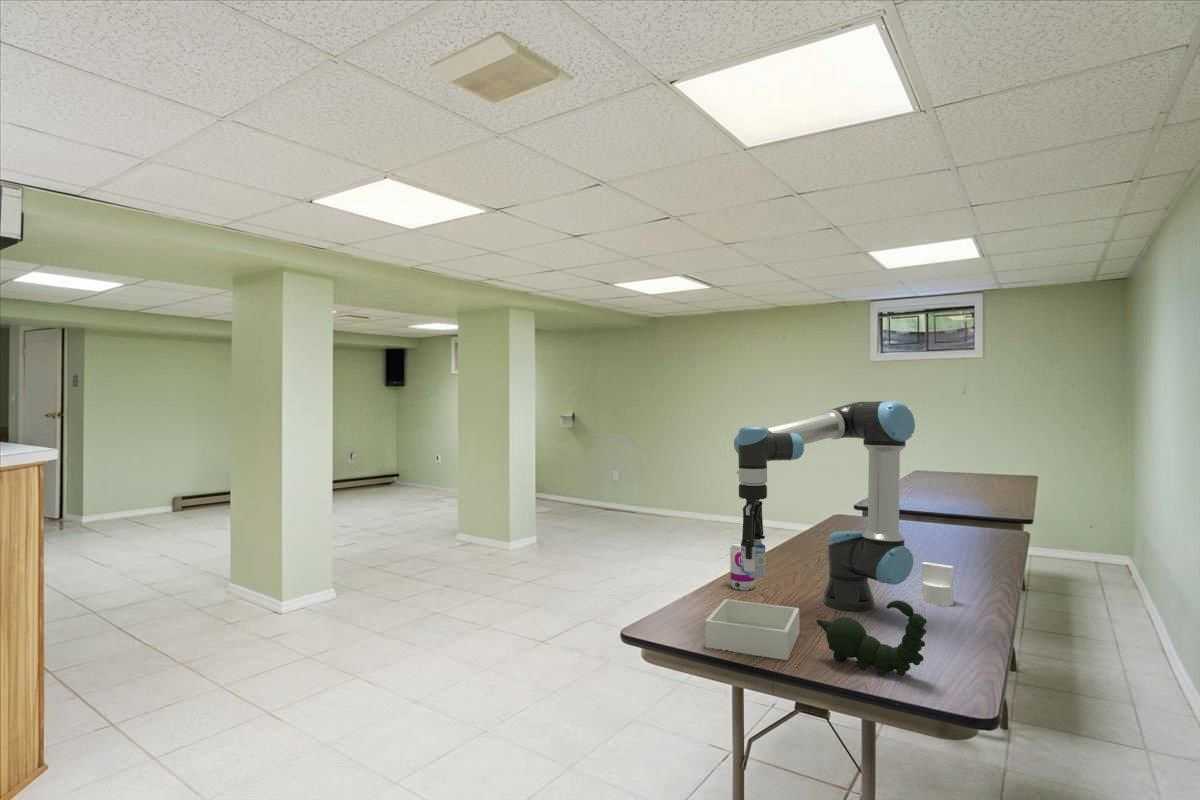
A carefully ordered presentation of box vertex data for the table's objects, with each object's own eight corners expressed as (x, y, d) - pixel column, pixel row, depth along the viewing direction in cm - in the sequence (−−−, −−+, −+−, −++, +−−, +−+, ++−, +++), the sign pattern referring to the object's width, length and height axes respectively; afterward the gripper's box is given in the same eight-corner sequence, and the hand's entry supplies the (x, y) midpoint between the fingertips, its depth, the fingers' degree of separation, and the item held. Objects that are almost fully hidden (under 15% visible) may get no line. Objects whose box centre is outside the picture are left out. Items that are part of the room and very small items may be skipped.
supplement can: (755, 591, 221) (754, 547, 221) (730, 590, 222) (730, 546, 223) (754, 585, 229) (754, 542, 229) (730, 583, 230) (730, 541, 231)
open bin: (799, 633, 180) (799, 608, 180) (787, 660, 161) (787, 632, 161) (725, 623, 189) (724, 599, 189) (705, 647, 170) (705, 620, 170)
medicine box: (740, 570, 179) (740, 539, 179) (756, 570, 179) (756, 538, 179) (749, 578, 171) (749, 545, 171) (766, 577, 171) (765, 544, 171)
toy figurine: (924, 681, 152) (820, 647, 168) (931, 602, 151) (826, 575, 167) (913, 695, 145) (806, 658, 161) (921, 612, 144) (812, 583, 160)
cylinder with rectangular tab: (957, 601, 208) (956, 564, 208) (949, 608, 202) (948, 569, 202) (927, 596, 214) (926, 560, 214) (918, 602, 208) (918, 565, 208)
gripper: (747, 478, 187) (747, 557, 186) (729, 487, 167) (730, 574, 167) (773, 480, 183) (774, 559, 183) (758, 488, 164) (759, 577, 164)
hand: (753, 566), depth 175 cm, fingers closed on medicine box, 9 cm apart
